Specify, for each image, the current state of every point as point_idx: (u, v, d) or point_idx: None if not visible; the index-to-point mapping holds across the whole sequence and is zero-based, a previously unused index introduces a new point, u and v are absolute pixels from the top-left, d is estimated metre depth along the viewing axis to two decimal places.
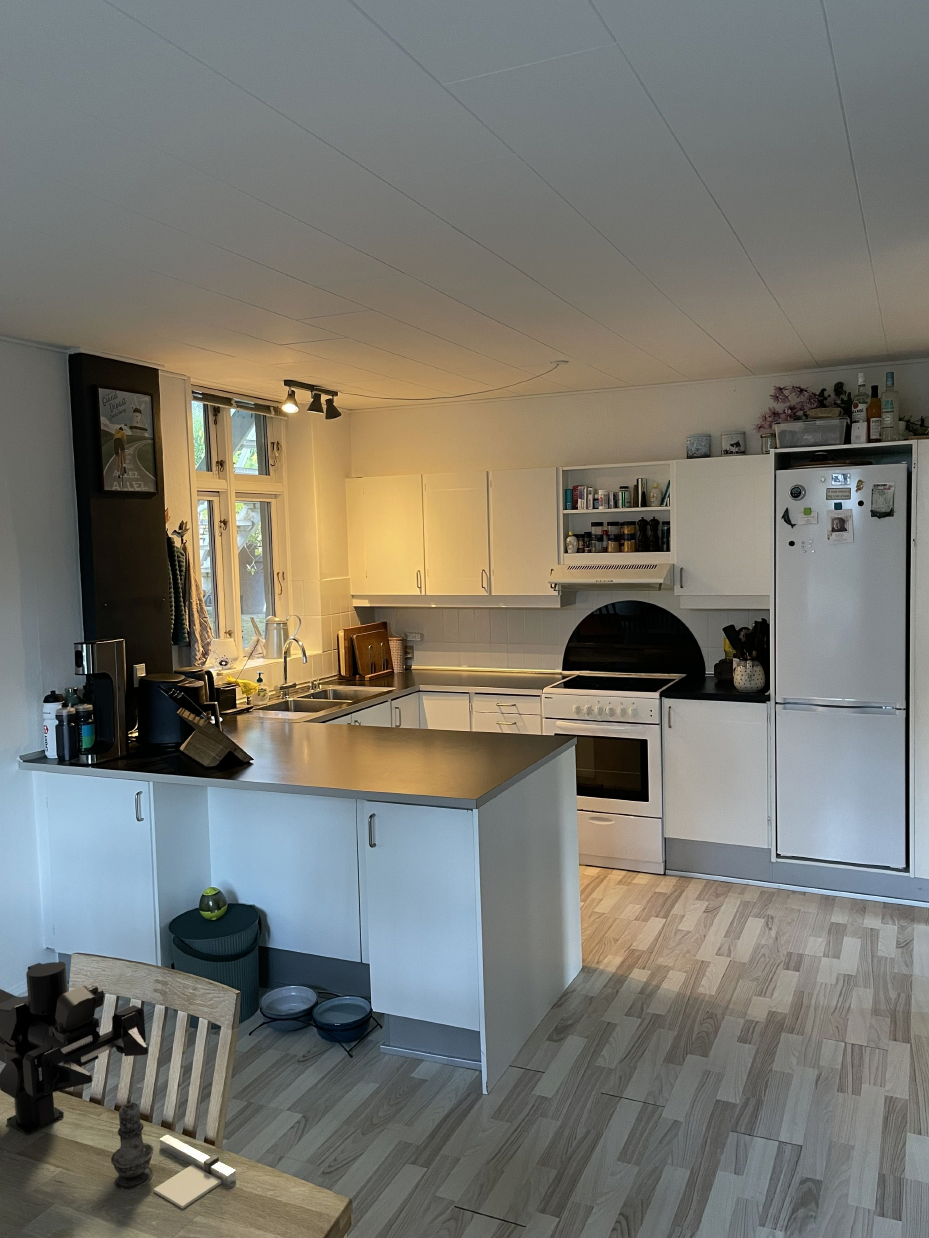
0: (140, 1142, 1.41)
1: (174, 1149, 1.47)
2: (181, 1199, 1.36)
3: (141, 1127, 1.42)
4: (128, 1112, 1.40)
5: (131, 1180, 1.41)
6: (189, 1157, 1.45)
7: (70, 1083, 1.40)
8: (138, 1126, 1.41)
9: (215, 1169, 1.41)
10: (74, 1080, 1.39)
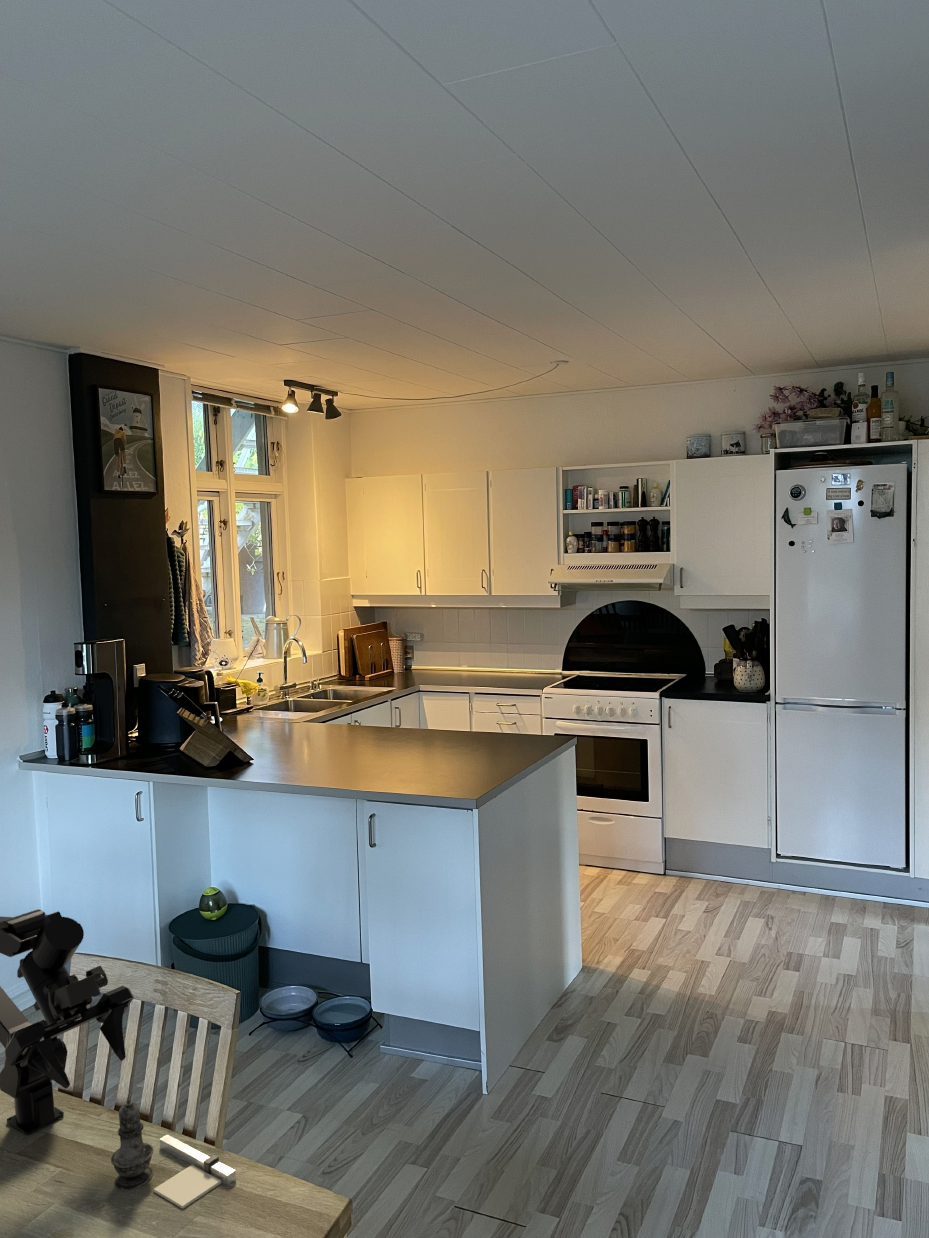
0: (139, 1142, 1.41)
1: (174, 1149, 1.47)
2: (181, 1199, 1.36)
3: (141, 1127, 1.42)
4: (128, 1112, 1.40)
5: (131, 1180, 1.41)
6: (189, 1157, 1.45)
7: (47, 1073, 1.43)
8: (138, 1126, 1.41)
9: (215, 1169, 1.41)
10: (52, 1075, 1.43)
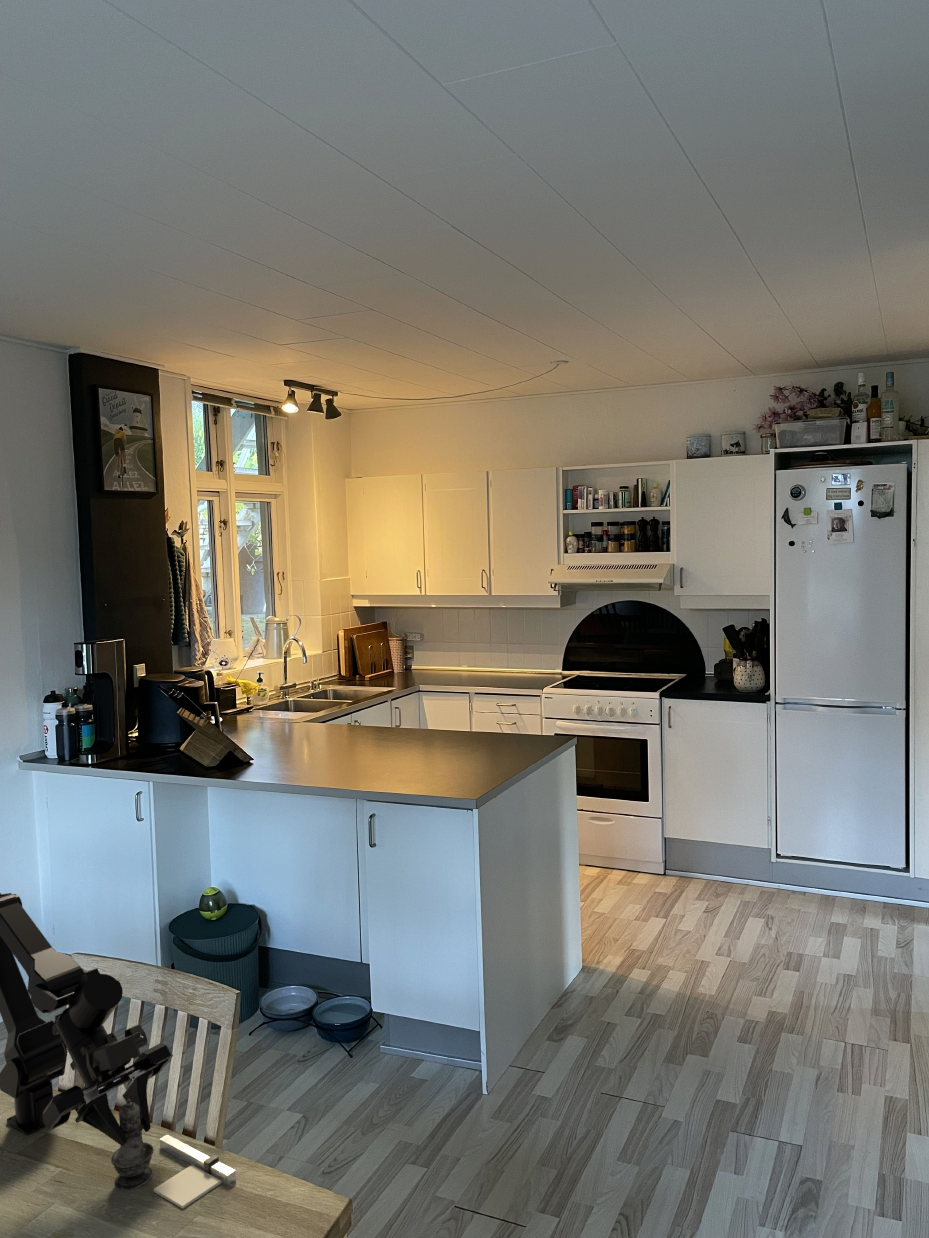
0: (140, 1142, 1.41)
1: (174, 1149, 1.47)
2: (181, 1199, 1.36)
3: (141, 1127, 1.42)
4: (128, 1112, 1.40)
5: (131, 1180, 1.41)
6: (189, 1157, 1.45)
7: (103, 1130, 1.40)
8: (138, 1125, 1.41)
9: (215, 1169, 1.41)
10: (108, 1132, 1.40)
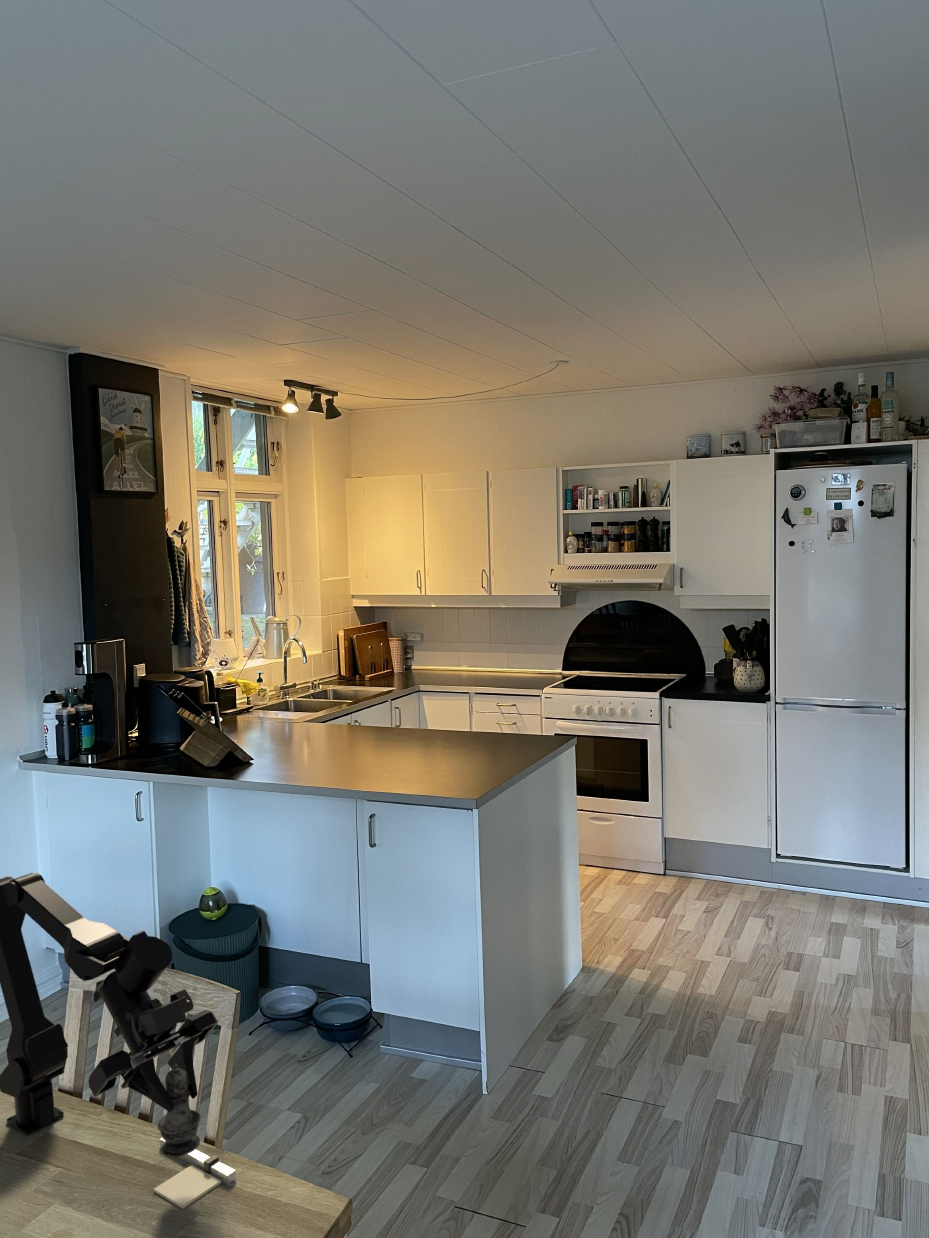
0: (187, 1109, 1.38)
1: None
2: (181, 1199, 1.36)
3: (188, 1093, 1.39)
4: (176, 1077, 1.37)
5: (178, 1147, 1.38)
6: (189, 1157, 1.45)
7: (150, 1096, 1.37)
8: (185, 1091, 1.38)
9: (215, 1169, 1.41)
10: (155, 1098, 1.37)
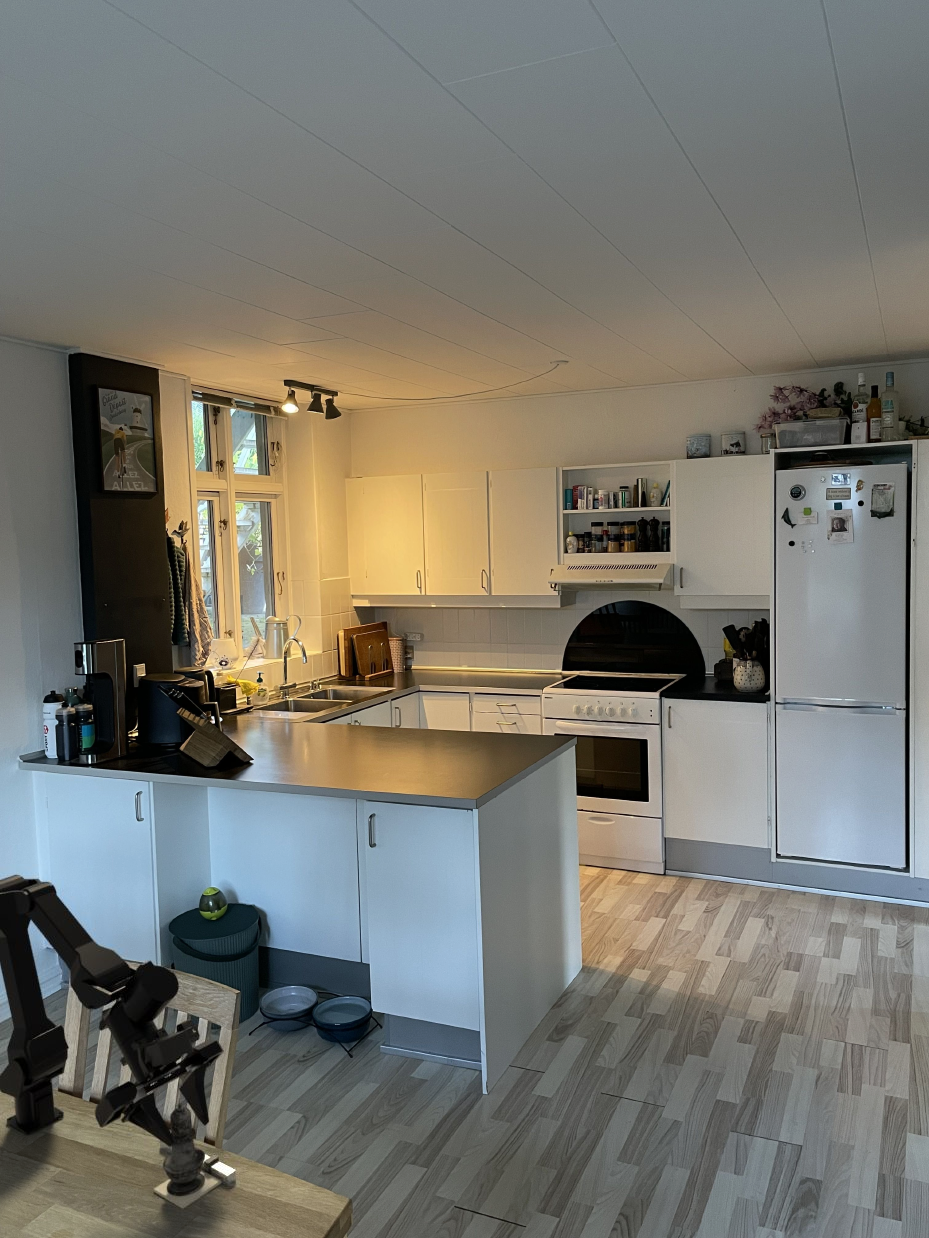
0: (191, 1148, 1.39)
1: None
2: (181, 1199, 1.36)
3: (193, 1132, 1.39)
4: (180, 1116, 1.38)
5: (183, 1186, 1.38)
6: None
7: (150, 1130, 1.37)
8: (189, 1131, 1.39)
9: (215, 1169, 1.41)
10: (155, 1132, 1.36)
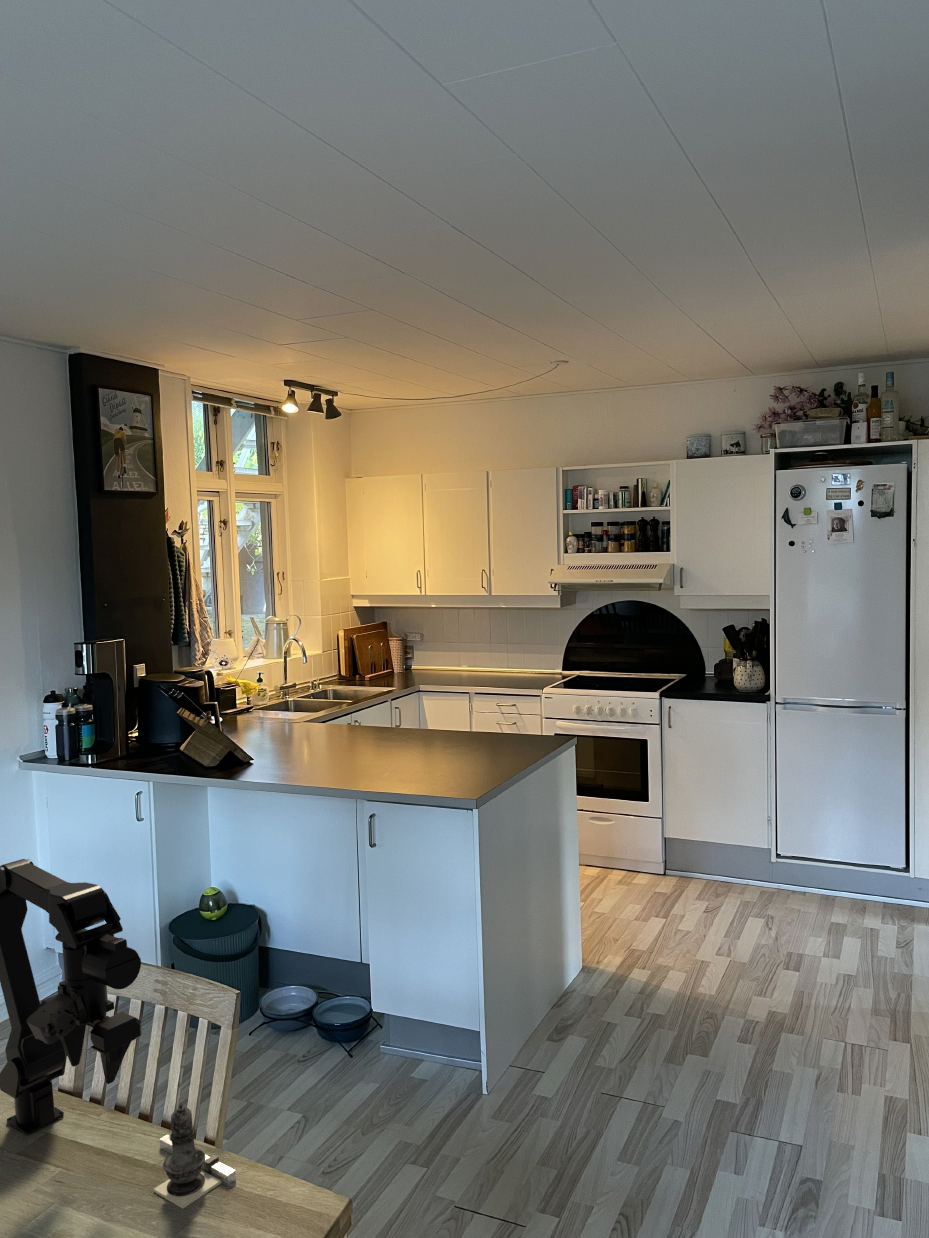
0: (192, 1148, 1.39)
1: None
2: (181, 1199, 1.36)
3: (193, 1132, 1.39)
4: (181, 1117, 1.38)
5: (183, 1187, 1.38)
6: None
7: None
8: (190, 1131, 1.38)
9: (215, 1169, 1.41)
10: None
